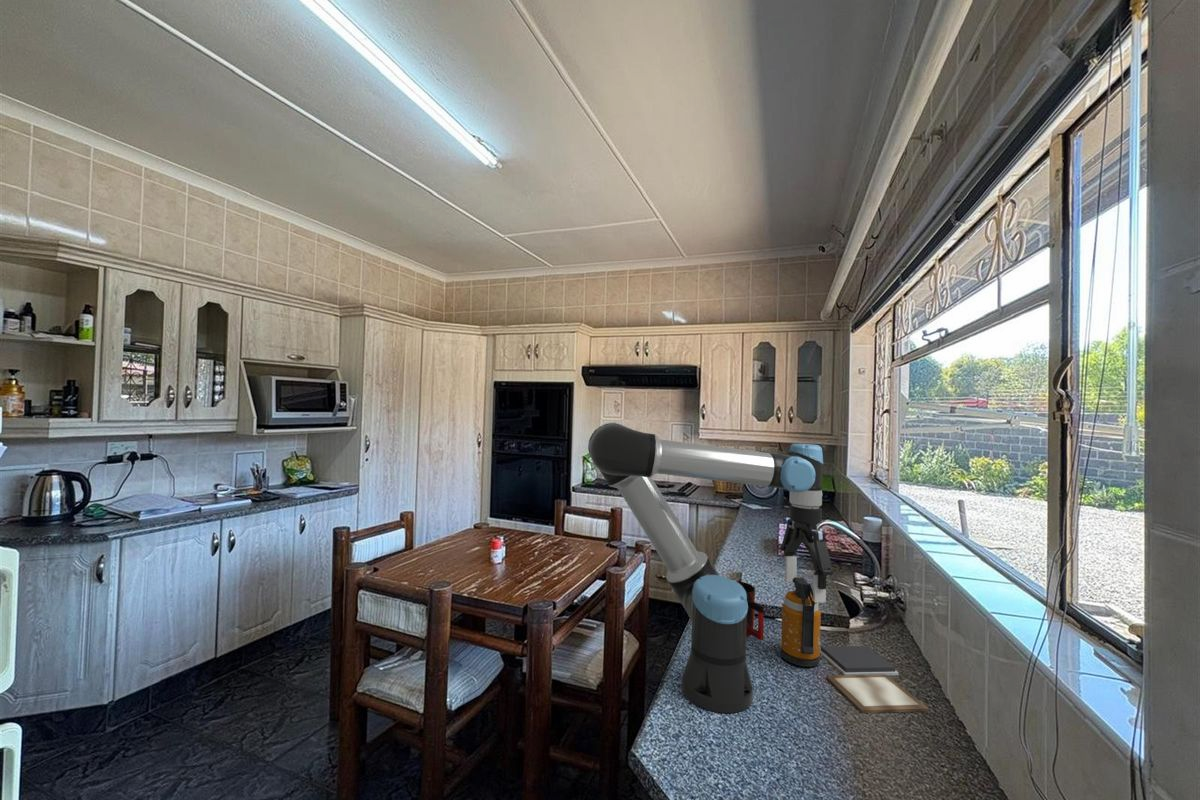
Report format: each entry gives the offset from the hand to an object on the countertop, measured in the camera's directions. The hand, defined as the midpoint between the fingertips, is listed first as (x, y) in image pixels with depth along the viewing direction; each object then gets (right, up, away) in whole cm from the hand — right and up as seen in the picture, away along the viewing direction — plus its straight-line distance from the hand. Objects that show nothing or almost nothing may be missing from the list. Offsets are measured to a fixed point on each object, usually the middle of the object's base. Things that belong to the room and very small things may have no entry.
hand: (804, 591), depth 120 cm
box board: (+10, -18, -13) cm, 24 cm away
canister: (-1, -18, -1) cm, 18 cm away
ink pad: (+13, -18, 0) cm, 22 cm away
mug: (-11, -18, +15) cm, 26 cm away
